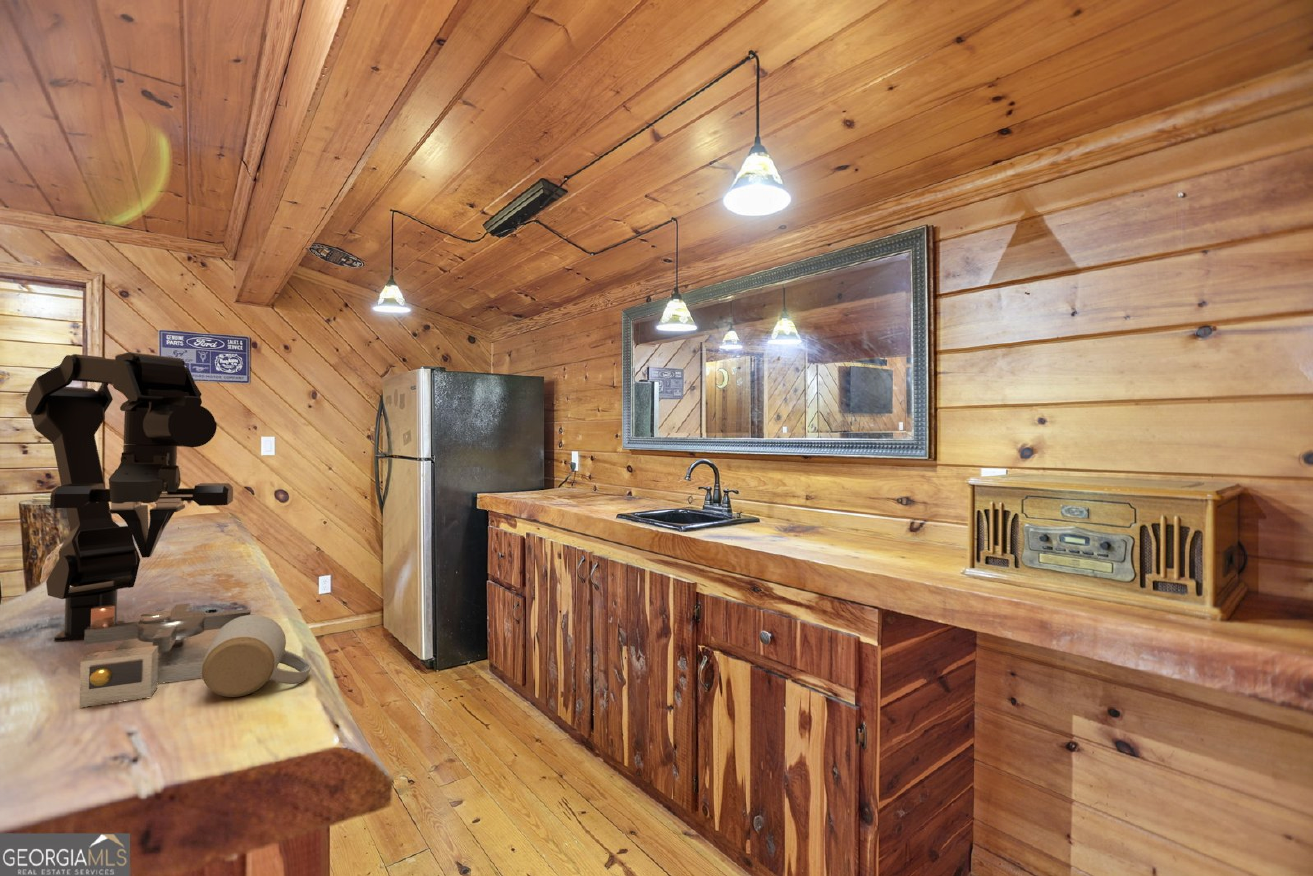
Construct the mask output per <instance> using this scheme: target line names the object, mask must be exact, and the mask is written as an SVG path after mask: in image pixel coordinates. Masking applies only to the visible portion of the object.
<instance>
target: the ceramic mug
mask: <svg viewBox="0 0 1313 876" xmlns="http://www.w3.org/2000/svg"><path fill="white" fill-rule="evenodd" d="M286 644H287V638H286V634H285V632H284V630H283V629H282V626H281V625H280V624H279V623H278V622H276V621H275V620H274V619H273V618H270V617H268V616H265V615H260V614H251V615H246V616H241V617H238V618H235V619H233V620H231V621H230V622H228V623H227V624H225V625H224V626H223V627H222V628H221V629H220V630H219V632H218V633H217V635H216V636H215V638H214V640H213V642H212V644H211V646H210V648H209V650H208V652H207V654H206V655H205V658H204V660H203V664H202V677H203V678H202V680H203V681H204V682H203V683H204V684H205V685H206V687H207V688H208V689H209V690H210V691H211V692H212V693H214V694H216V695H219V696H221V697H226V698H238V697H239V698H240V697H244V696H247V695H248V696H249V695H250V694H252V693H254V692H256V691H258V690H259V689H261V688H262V687H263V686H264V685H266V683H267V682H269V681H271V682H275V683H277V684H279V683H280V684H285V685H298V684H300V682H301V683H303V682H304V680H305V681H306V679H307V677H308V676H309V674H310V671H311V668H312V665H311V663H310V662H309V661H308V660H307V659H305V658H304V657H302V656H300V655H298V654H297V653H294V652H292V651H289V650H286ZM279 664H281V665H285V666H287V667H290V668H291V669H295V670H296V671H293V670H286V669H284V668H279V667H278V665H279Z"/></svg>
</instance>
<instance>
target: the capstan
mask: <svg viewBox="0 0 1313 876" xmlns="http://www.w3.org/2000/svg"><path fill="white" fill-rule="evenodd" d="M190 608H191V604H190V603H180V604H175V605H174V606H173V608H172V610H171V611H169V610H160V611H159V610H158V611H151V612H147V613H143V614H141V615H140V621H130V622H125V623H119V624H114V617H115V606H113V605H107V606H99V607H95V608H92V609H91V627H88V628H87V629H85V637H84V638H83V639H84V641H83V643H84V646H86V645H94V644H102V643H103V644H104V643H110V642H119V641H124V640H129V639H138V640H139V641H142V642H153V646H158V653H159V652H167V651H170V650H171V648H172V646H173V644H174V642H175V641H176V640H179V639H184V638H188V637H192V636H195V635H198V634H200V633H202V632H204V631H205V630H214V629H221V628H222V627H223V626H224V625H225V624H227V623H228V622H230V621H231V620H233V619H235V618H238V617H241V616H246V615H252V609H242V610H241V609H240V610H232V611H224V612H214V613H206V612H204V611H200V610H199V611H197V610H190Z"/></svg>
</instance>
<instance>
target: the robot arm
mask: <svg viewBox="0 0 1313 876" xmlns="http://www.w3.org/2000/svg"><path fill="white" fill-rule="evenodd" d="M73 381H74V382H84V383H97V384H100V386H99V388H98V389H97V390H96V389H94V388H89V387H77V386H76V387H75V386H69V385H71V383H72V382H73ZM110 384H111V385H112V387H113V388H114V390H117V391H119V392H121V393H122V394H123V396H124V397H125V398H126V399H127V400H126V401H124V402H122V404H120V406H119V410H120V411H121V412H124V422H123V423H124V424H123V426H124V427H123V449H122V452H121V456H120V464H119V465H118V468H116V469H115V470H114V471H113V473H112V474H111V475H110V476H109V478H108V487H109V488H107V487H106V483H105V478H104V474H103V469H102V465H101V461H100V459H101V458H100V454H99V450H98V447H97V441H96V433H97V431H98V430H99V429H100V427H101V425H102V424H103V422H104V421H105V418H106V416H105V413H106V411H107V410H108V409H109V407H110V405H111V404H112V402H113V396H112V394H111V391H110V388H109V385H110ZM201 392H202V391H201V390H200V389H199V387H198V385H197V384H196V381H195V380H194V378H193V375H192V373H191V370H190V369H189V367H187V366H186V362H185V360H183V359H182V358H179V357H173V356H172V357H171V356H164V355H158V354H156V355H155V354H148V353H139V352H133V351H132V352H131V351H128V352H123V353H120V354H117V355H115V357H114V358H106V357H104V356H98V355H97V356H96V355H95V356H94V355H88V354H87V355H86V354H77V353H73V354H71V355H69V354H68V355H65V356H64V357H63V359H62V361H61V362H60V365H59V366H57V367H55V368H53V369H51V370H49V371H47V372H45V373H43V374H41V375H39V376H38V377H36V378H35V380H34V382H33V384H32V385H31V387H30V389H29V391H28V393H27V395H26V397H25V398H26V399H25V410H26V412H27V414H28V415H30V418H31V420H32V424H33V426H34V427H33V428H34V429H35V430H36V431H37V432H38V433H40V434H41V435H42V437H44V439H47V440H48V441H49V442H50V443H51V444H52V446H53V450H54V456H55V461H56V464H57V465H56V467H57V471H58V476H59V481H60V485H58V486H56V487H55V488H54V489H53V490H52V491H51V493H50V501H49V508H50V509H65V512H66V516H67V522H68V527H69V533H68V535H67V536H66V538H65V540H64V541H63V543H62V545H61V546H60V547H59V550H58V560H57V562H56V564H55V565H54V566H53V568H52V571H50V574H49V576H47V577H48V578H47V579H46V581H45V584H46V592H47V596H49V597H53V598H55V599H56V598H57V599H60V600H64V601H65V602H64V628H63V629H64V630H62V631H61V632H60V633H58V634H57V635H55V636H54V637H53V641H55V642H57V641H67V640H69V641H70V640H77V639H84V637H85V629H87V628H88V627H91V609H92V608H95V607H99V606H107V605H113V606H115V617H114V624H119V623H126V620H119V621H118V619H117V618H118V593H119V592H118V590H121V589H127V588H128V589H130V588H134V587H135V584H136V581H137V576H138V570H139V568H140V562H141V557H142V558H143V559H147V558H150V557H152V555H153V553H154V551H155V550H156V546H157V544H158V543H159V540H160V539H161V536H162V534H163V532H164V530H165V528H166V526H167V525H168V523H169V521H170V520H171V518H172V517H173V516H174V514H175V513H177V512H181V511H182V510H184V509H185V508H186V504H184V502H195V504H197V505H198V506H199V507H202V506H203V507H204V506H213V507H214V506H215V507H217V506H228V505H230V504H231V503H232V502H234V486H232V485H231V484H230V483H229V482H219V483H218V482H216V483H215V482H209V483H208V482H205V483H199V484H196V485H194V487H193V488H192V487H189V488H187V487H186V488H184V487H183V488H182V487H181V488H180V486H181V471H180V466H179V465H177V459H178V452H177V451H178V448H179V447H182V448H198V447H202V446H204V445H206V444H208V443H210V441H211V440H212V439H213V438H214V437H215V434H216V433H217V428H218V426H217V424H218V423H217V421H216V420H215V417H214V415H213V414H212V412H211V411H210V410H209V409H207V408H205V406H202V404H203V401H202V398H201V396H202V393H201ZM153 503H154V504H155V506H154V507H153V508H150V509H149V507H148V506H149V505H148V504H153ZM110 505H111V506H110ZM112 514H113V515H114V514H115V515H118V516H119V517H120V518H121V519H122V520H123V521H124V522H125V523H126V525H122V526H120V525H119V524H118V523H116V522H115V521H114V520H113V516H112ZM134 541H135V542H134ZM135 544H136V545H135ZM137 548H138V549H137ZM140 556H141V557H140Z"/></svg>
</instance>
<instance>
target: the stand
mask: <svg viewBox="0 0 1313 876" xmlns="http://www.w3.org/2000/svg"><path fill="white" fill-rule="evenodd" d="M219 630H220V629H214V630H205V631H204V632H202V633H200V634H198V635H195V636H192V637H188V638H184V639H179V640H176V641H175V642H174V644H173V646H172V648H171V650H170V651H167V652H159V653H158V646H153V642H142V641H139V640H138V639H129V640H122V642H121V643H120V644H119V645H118V646H117V648H116V647H115V649H114V650H108V651H98V652H97V651H96V652H90V653H88V655H87V656H85V657H84V658H83V659H82V660H81V661H80V673H79V678H80V679H79V680H80V681H79V707H78V708H79V709H83V707H85V708H88V707H87V706H92V707H96V706H95V705H99V706H102V705H101V704H105V705H107V704H106V703H112V702H113V703H112V704H115V703H114V702H119V701H124V700H133V701H137V700H136V699H139V700H143V699H142V698H146V699H148V698H147V697H151V696H153V695H154V694H153V693H155V692H156V691H157V689H158V684H157V683H161V684H164V683H163V682H169V683H174V682H183V681H188V680H189V681H190V680H196V679H197V680H198V679H203V677H202V664H203V660H204V658H205V655H206V654H207V652H208V650H209V648H210V646H211V644H212V642H213V640H214V638H215V636H216V635H217V633H218V632H219ZM156 688H157V689H156ZM155 690H156V691H155ZM154 691H155V692H154ZM152 694H153V695H152ZM151 698H152V697H151ZM119 703H120V702H119ZM93 705H94V706H93Z"/></svg>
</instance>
